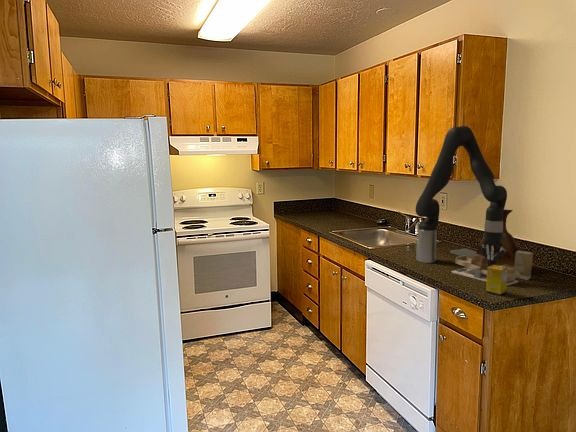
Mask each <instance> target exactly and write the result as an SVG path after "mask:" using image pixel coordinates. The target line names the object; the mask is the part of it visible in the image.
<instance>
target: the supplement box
mask: <svg viewBox="0 0 576 432" xmlns="http://www.w3.org/2000/svg"><path fill="white" fill-rule="evenodd" d="M507 271H508V267H503V266H498V265H492V266H490V267H487V282H486V284H485V285H486V287H485V290H486V291H485V293H487V294H491V295H494V296H499V297H500V296H503V295H505V294H506V293H507Z"/></svg>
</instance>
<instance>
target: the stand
mask: <svg viewBox="0 0 576 432" xmlns="http://www.w3.org/2000/svg"><path fill="white" fill-rule="evenodd" d="M451 272H452V273H453V274H455V275H460V276H463V277H468V278H470V279H471V278H472V279H476V280H479V281H483V282H486V283H487V275H486V274H483V273H481V271H480V270H472V269H470V268H467V267H463V268H459V269H455V270H452V271H451ZM451 272H450V273H451ZM517 283H519V280H516V279H515V280H512V281H509V282H507V286H510V285H514V284H517Z"/></svg>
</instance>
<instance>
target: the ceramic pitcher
mask: <svg viewBox="0 0 576 432" xmlns="http://www.w3.org/2000/svg"><path fill="white" fill-rule="evenodd" d="M512 212H513V209H506V208H504V210H503V235H502V247H503V248H504V249H506V250H507V252H506V253H505V254H504V255H503V256H502V257H501V258H500V259H497V260H495V265H498V266H501V265H505V264H507V265H510V266H513V267H514V265H515V255H516V252H517V251H521V250H520V247H519V245H518V242H517V240H516V239H515V237H514V235H512V234H511V233H510V232H509V231H508V230H507V219H508V216H509V215H510V213H512ZM483 242H484V236H483V238H482V239H481V240H480V242H479V244H478V246H480V245H482V244H483ZM478 246H477V249H476V254H479V255H482V256H483V254H482V252H481V251H480V249H479V247H478ZM485 249H486V248H485ZM499 251H500V250H499ZM499 251H498V254H499V253H500V252H499ZM498 254H497V255H498ZM486 264H487V265H488V259H487V262H486Z"/></svg>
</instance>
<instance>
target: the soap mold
mask: <svg viewBox="0 0 576 432" xmlns="http://www.w3.org/2000/svg"><path fill="white" fill-rule="evenodd" d="M476 252H477V250H476V251H475V250H472V249H469V248H461V249H451V250H449V253H450V254H454V255H456V256H457V257H459V256H463V255H466V257H467V258H470V259H472V255H475V254H476Z"/></svg>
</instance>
